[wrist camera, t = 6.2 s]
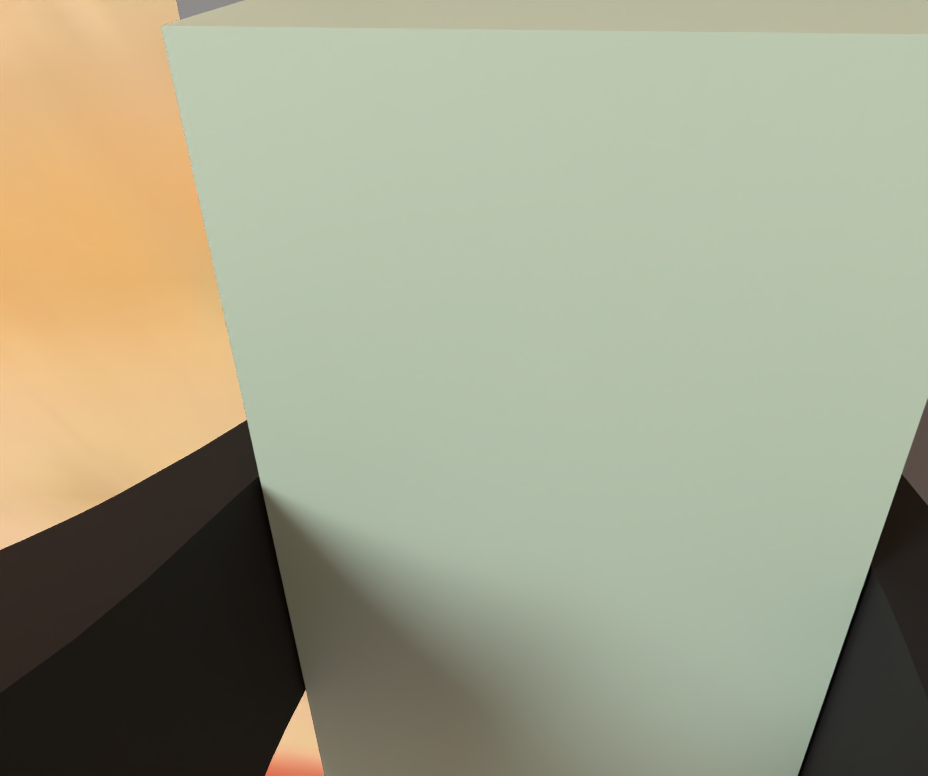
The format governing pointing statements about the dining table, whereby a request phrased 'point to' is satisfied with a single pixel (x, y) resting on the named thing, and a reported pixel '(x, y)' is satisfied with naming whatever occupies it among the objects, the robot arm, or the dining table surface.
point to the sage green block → (568, 359)
